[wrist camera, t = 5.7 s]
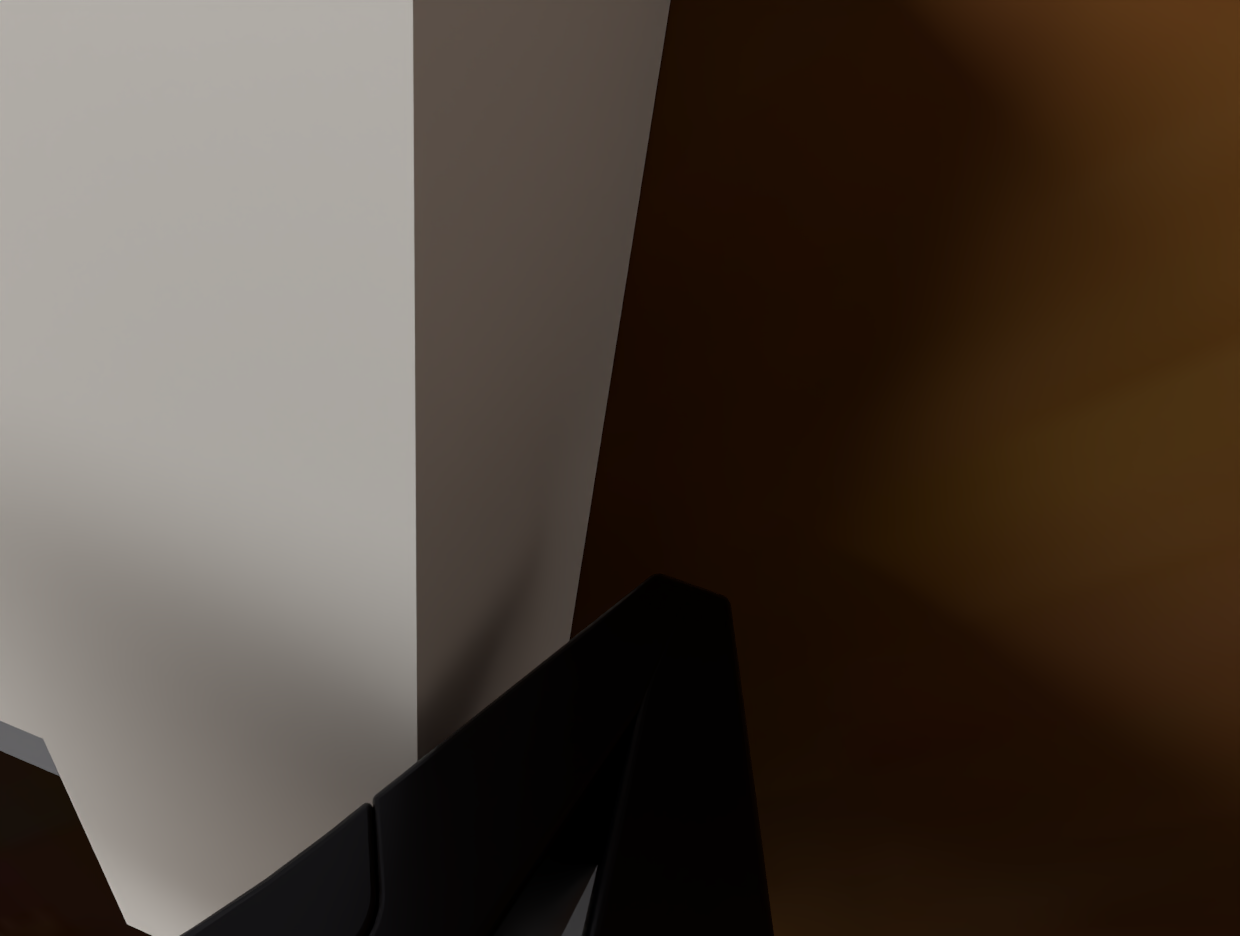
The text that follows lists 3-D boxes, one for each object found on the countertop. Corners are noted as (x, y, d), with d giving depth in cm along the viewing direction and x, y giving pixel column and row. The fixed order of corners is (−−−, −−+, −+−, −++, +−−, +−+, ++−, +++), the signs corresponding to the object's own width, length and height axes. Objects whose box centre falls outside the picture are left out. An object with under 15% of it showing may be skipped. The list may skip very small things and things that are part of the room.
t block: (703, -213, 6) (412, -189, 3) (547, 773, 14) (419, 1057, 11) (-513, -449, 8) (-1436, -578, 5) (-56, 539, 16) (-311, 725, 13)
